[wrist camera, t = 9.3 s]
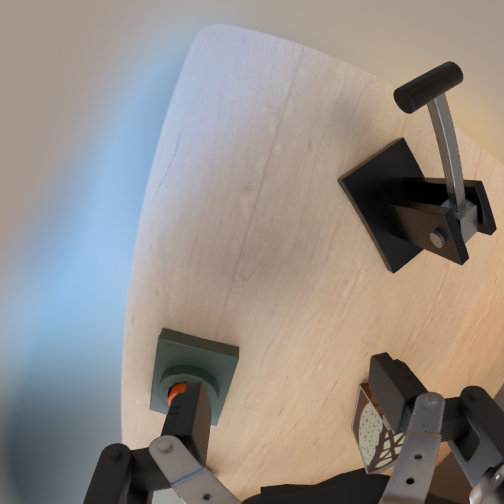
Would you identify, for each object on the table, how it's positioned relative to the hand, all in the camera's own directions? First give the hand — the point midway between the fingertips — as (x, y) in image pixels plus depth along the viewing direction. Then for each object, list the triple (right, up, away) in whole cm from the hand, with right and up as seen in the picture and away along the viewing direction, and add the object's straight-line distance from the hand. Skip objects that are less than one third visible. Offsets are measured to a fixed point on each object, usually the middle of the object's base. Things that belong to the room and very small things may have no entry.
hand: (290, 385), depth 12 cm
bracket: (+14, +11, +16) cm, 24 cm away
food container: (+16, -16, +23) cm, 33 cm away
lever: (+11, +13, +4) cm, 17 cm away
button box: (-9, -9, +21) cm, 24 cm away
